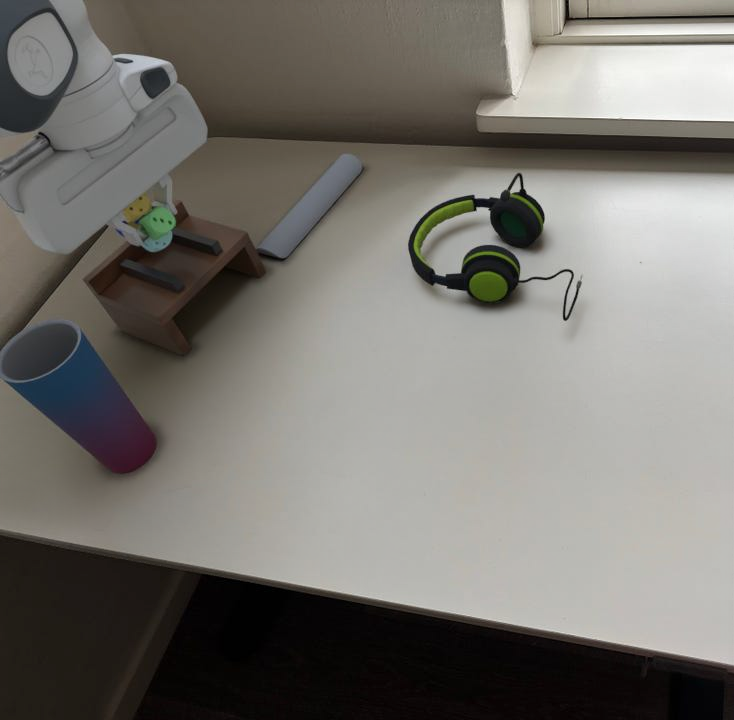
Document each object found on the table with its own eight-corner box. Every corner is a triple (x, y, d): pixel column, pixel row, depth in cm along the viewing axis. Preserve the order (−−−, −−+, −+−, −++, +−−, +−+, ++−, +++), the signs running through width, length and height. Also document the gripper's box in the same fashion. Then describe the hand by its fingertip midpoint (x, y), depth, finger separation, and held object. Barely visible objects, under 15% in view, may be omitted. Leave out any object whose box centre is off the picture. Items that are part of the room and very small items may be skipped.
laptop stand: (184, 356, 76) (148, 304, 70) (120, 331, 80) (81, 279, 74) (266, 271, 84) (240, 217, 78) (204, 252, 88) (175, 198, 81)
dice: (125, 245, 77) (89, 195, 72) (142, 230, 78) (109, 180, 74) (174, 258, 73) (140, 206, 69) (192, 242, 75) (160, 190, 70)
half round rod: (254, 256, 86) (248, 245, 84) (339, 162, 96) (335, 151, 95) (282, 263, 84) (277, 252, 83) (365, 167, 95) (362, 155, 94)
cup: (137, 489, 66) (42, 389, 55) (80, 473, 68) (-24, 374, 57) (179, 429, 70) (98, 325, 58) (124, 416, 72) (35, 312, 61)
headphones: (564, 270, 64) (366, 239, 70) (567, 342, 71) (388, 307, 77) (608, 164, 73) (430, 145, 79) (607, 237, 80) (444, 214, 86)
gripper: (6, 181, 56) (99, 304, 67) (184, 54, 67) (240, 177, 78) (-42, 166, 59) (55, 287, 69) (138, 46, 70) (198, 167, 80)
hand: (154, 228), depth 73 cm, fingers closed on dice, 3 cm apart
